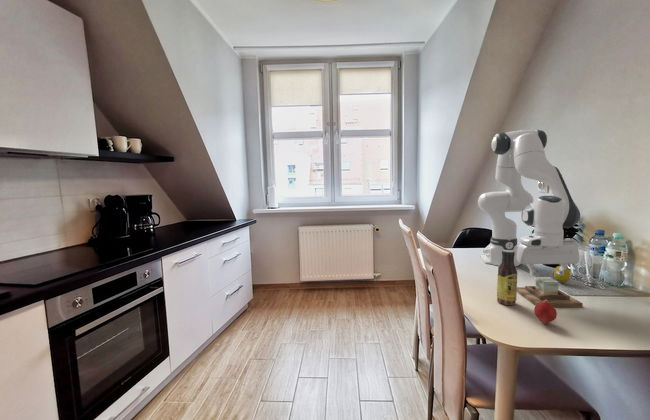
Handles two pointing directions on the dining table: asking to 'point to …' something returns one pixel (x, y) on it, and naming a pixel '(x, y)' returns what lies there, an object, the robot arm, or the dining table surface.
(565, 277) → the lemon
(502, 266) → the sauce bottle
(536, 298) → the socket board
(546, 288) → the block
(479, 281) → the dining table surface
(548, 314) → the red bumpy ovoid
